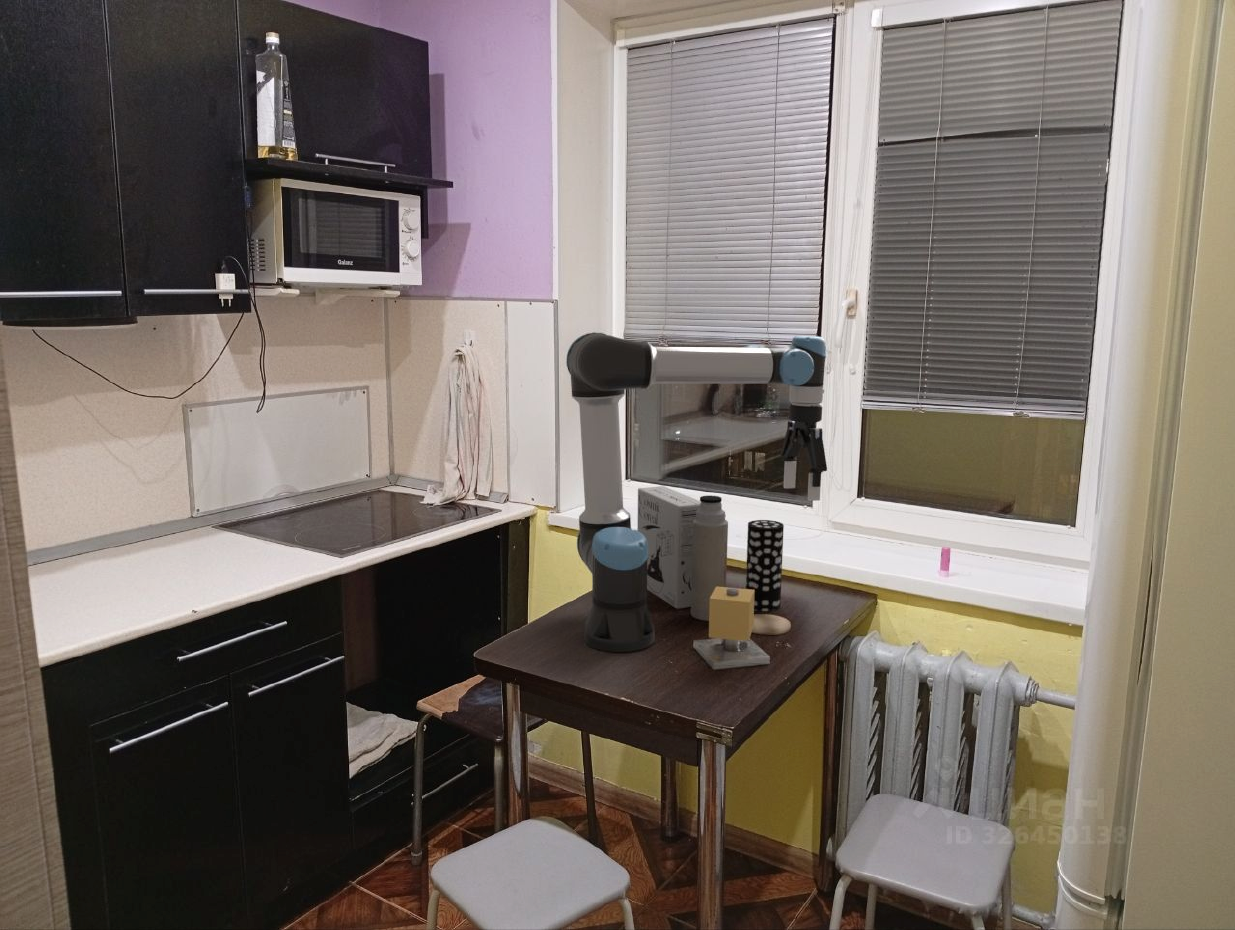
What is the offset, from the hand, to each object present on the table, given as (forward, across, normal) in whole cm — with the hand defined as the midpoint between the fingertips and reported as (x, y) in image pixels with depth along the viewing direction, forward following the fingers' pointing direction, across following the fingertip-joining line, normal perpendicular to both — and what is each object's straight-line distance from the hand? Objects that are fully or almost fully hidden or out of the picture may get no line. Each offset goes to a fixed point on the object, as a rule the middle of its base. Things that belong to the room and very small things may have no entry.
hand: (801, 494), depth 215 cm
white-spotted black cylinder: (+27, +1, +8) cm, 29 cm away
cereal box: (+28, +14, +27) cm, 41 cm away
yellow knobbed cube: (+22, -26, +26) cm, 43 cm away
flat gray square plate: (+27, -26, +26) cm, 46 cm away
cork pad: (+27, -12, +12) cm, 32 cm away
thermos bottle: (+28, -2, +23) cm, 36 cm away
